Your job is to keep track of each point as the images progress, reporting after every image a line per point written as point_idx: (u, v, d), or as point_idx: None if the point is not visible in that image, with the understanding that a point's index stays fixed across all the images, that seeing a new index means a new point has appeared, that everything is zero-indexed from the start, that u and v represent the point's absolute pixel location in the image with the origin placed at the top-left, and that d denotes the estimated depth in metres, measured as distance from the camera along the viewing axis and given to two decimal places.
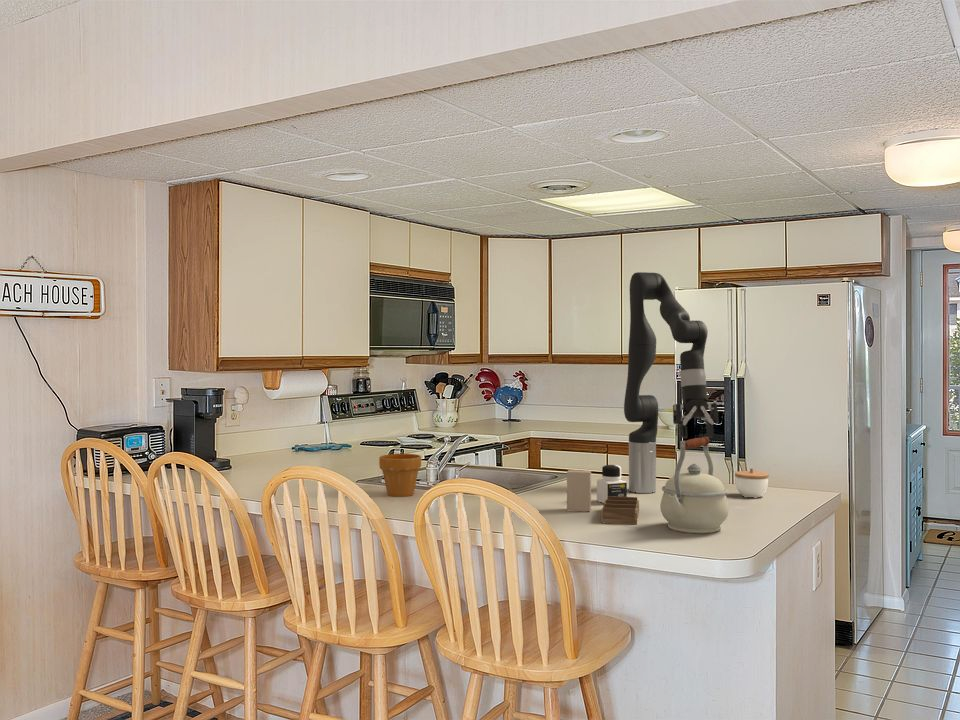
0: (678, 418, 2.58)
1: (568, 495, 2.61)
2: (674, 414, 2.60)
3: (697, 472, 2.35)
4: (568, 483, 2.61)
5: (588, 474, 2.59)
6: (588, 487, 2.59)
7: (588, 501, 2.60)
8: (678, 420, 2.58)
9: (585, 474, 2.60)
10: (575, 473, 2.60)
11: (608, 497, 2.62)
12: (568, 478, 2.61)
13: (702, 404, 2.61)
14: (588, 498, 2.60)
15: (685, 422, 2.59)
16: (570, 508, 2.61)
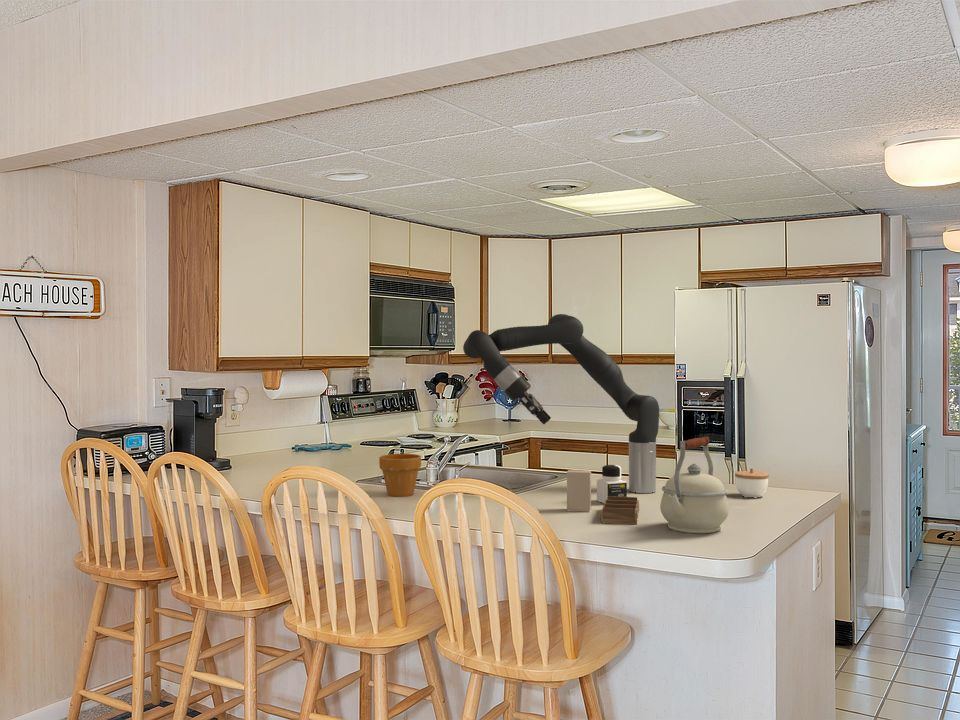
0: None
1: (568, 495, 2.61)
2: None
3: (697, 472, 2.35)
4: (568, 483, 2.61)
5: (588, 474, 2.59)
6: (588, 487, 2.59)
7: (588, 501, 2.60)
8: None
9: (585, 474, 2.60)
10: (575, 473, 2.60)
11: (608, 497, 2.62)
12: (568, 478, 2.61)
13: None
14: (588, 498, 2.60)
15: None
16: (570, 508, 2.61)
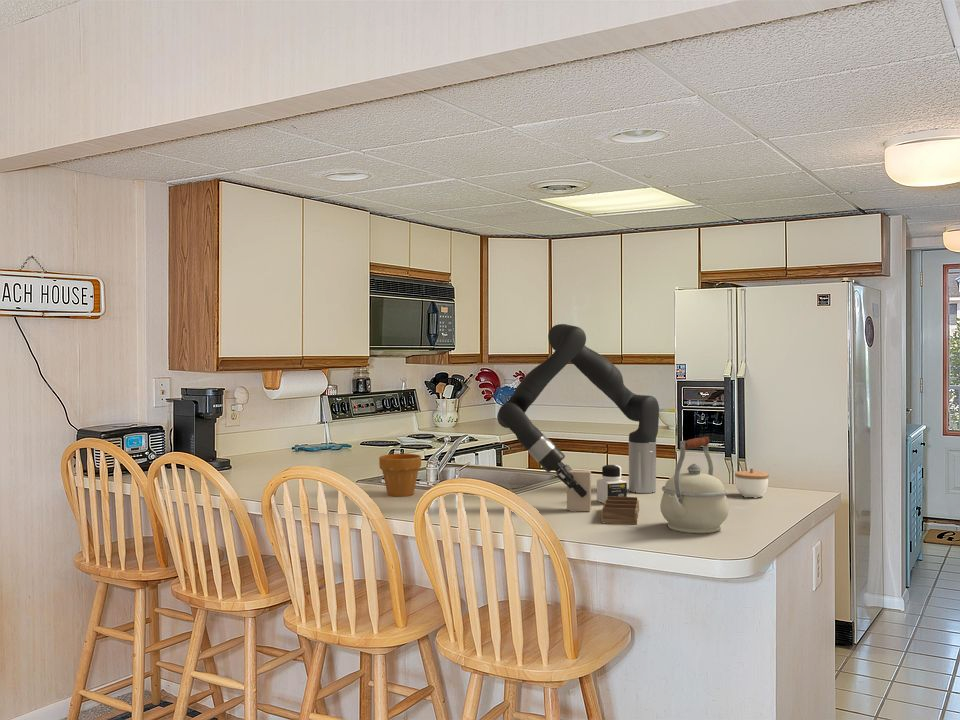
0: None
1: (568, 495, 2.61)
2: None
3: (697, 472, 2.35)
4: None
5: (588, 474, 2.59)
6: (588, 487, 2.59)
7: (588, 501, 2.60)
8: None
9: (585, 474, 2.60)
10: (575, 473, 2.60)
11: (608, 497, 2.62)
12: None
13: None
14: (588, 498, 2.60)
15: None
16: (570, 508, 2.61)
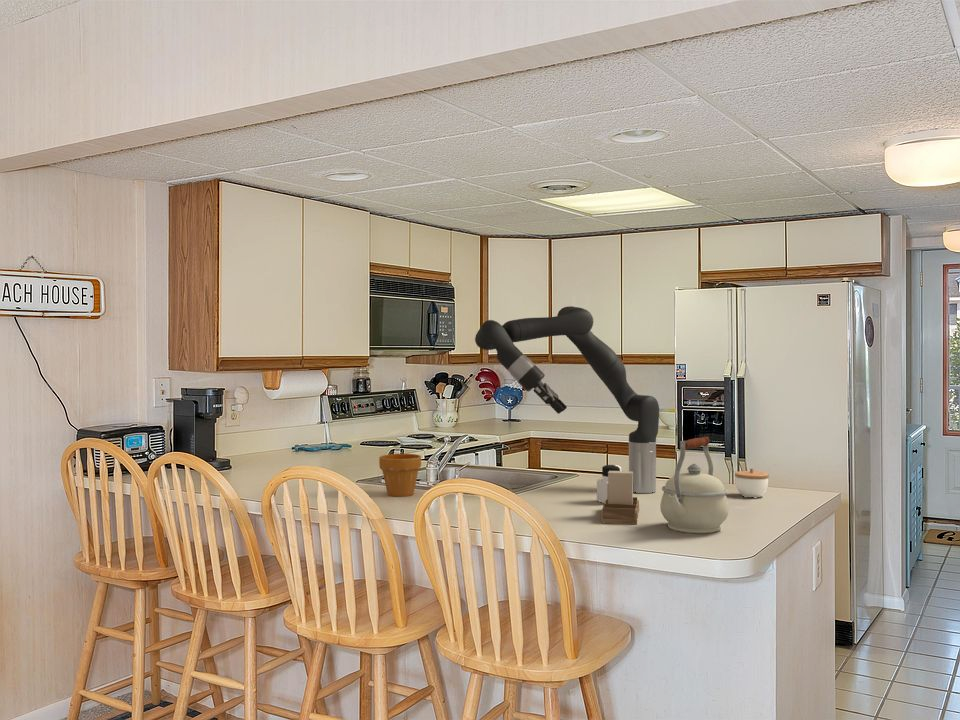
0: None
1: (609, 497, 2.51)
2: None
3: (697, 472, 2.35)
4: (610, 484, 2.51)
5: (630, 475, 2.50)
6: (630, 488, 2.50)
7: (630, 503, 2.50)
8: None
9: (627, 475, 2.50)
10: (617, 474, 2.50)
11: None
12: (609, 479, 2.51)
13: None
14: (630, 500, 2.50)
15: None
16: None
